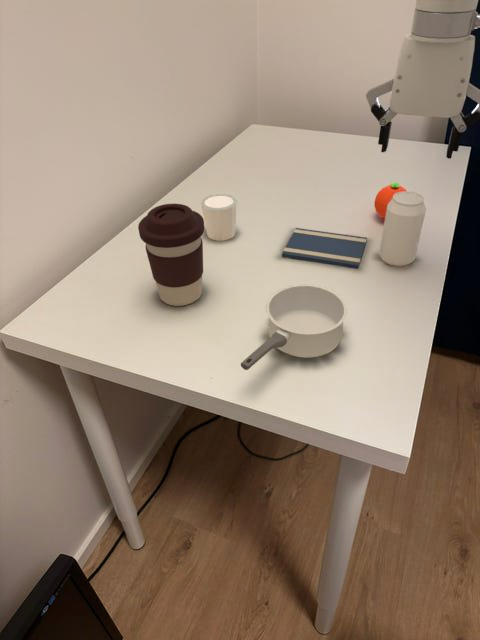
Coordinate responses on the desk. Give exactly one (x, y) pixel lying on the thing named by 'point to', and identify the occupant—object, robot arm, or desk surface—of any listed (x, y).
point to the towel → (325, 248)
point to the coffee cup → (174, 251)
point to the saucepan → (302, 322)
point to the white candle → (220, 216)
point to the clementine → (386, 198)
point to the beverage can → (402, 228)
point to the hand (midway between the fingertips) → (416, 152)
